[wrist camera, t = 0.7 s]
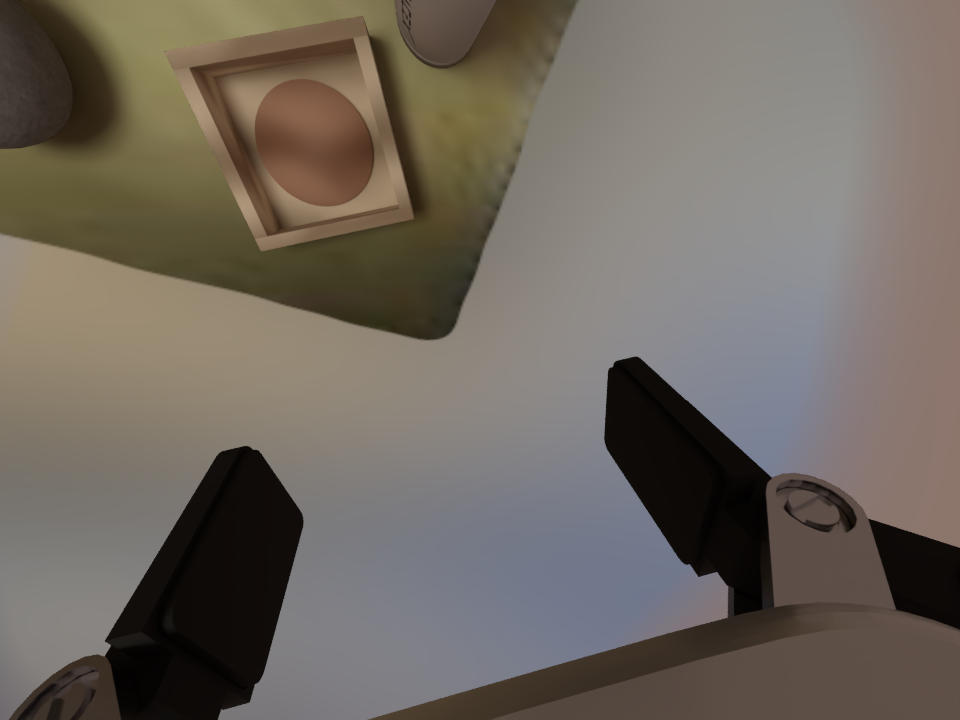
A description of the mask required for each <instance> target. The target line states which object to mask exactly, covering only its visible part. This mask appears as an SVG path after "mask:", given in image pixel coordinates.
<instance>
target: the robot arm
mask: <svg viewBox="0 0 960 720" xmlns="http://www.w3.org/2000/svg"><path fill="white" fill-rule="evenodd" d="M604 440H605V444H606V447H607V450H608V451H609V453H610V455H611V456H612V458H613V459H614V460H615V462H616V463H617V465H618V467H619V468H620V470H621V471H622V473H623V474H624V476H625V477H626V479H627V480H628V482H629V483H630V485H631V486H632V488H633V489H634V491H635V492H636V494H637V495H638V497H639V499H640V500H641V502H642V503H643V505H644V506H645V508H646V509H647V510H648V512H649V514H650V515H651V517H652V518H653V520H654V521H655V523H656V524H657V526H658V527H659V529H660V530H661V532H662V533H663V535H664V536H665V538H666V539H667V541H668V543H669V544H670V546H671V547H672V549H673V550H674V552H675V553H676V555H677V556H678V558H679V559H680V560H681V561H682V562H683V563H684V564H687V565H688V564H690V565H691V566H692V568H693V569H694V571H695V572H696V574H697V575H698V577H700V576H703V575H707V574H711V573H714V572H718V574H719V575H720V577H721V578H722V579H723V581H724V582H725V583H726V585H728V618H725V619H722V620H718V621H714V622H710V623H706V624H702V625H699V626H695V627H691V628H687V629H683V630H679V631H676V632H672V633H668V634H665V635H661V636H657V637H654V638H651V639H647V640H643V641H640V642H637V643H633V644H629V645H626V646H622V647H619V648H616V649H612V650H608V651H605V652H601V653H598V654H594V655H590V656H587V657H583V658H580V659H577V660H573V661H569V662H566V663H562V664H559V665H555V666H552V667H549V668H545V669H541V670H538V671H534V672H531V673H528V674H524V675H521V676H517V677H514V678H510V679H507V680H503V681H500V682H496V683H493V684H489V685H486V686H482V687H479V688H476V689H472V690H469V691H465V692H462V693H458V694H455V695H451V696H448V697H444V698H441V699H438V700H434V701H431V702H427V703H424V704H420V705H417V706H413V707H410V708H407V709H403V710H400V711H396V712H393V713H390V714H386V715H383V716H379V717H376V718H373V719H369V720H960V548H958V547H955V546H952V545H949V544H946V543H943V542H940V541H936V540H933V539H930V538H927V537H924V536H921V535H918V534H915V533H912V532H908V531H905V530H902V529H899V528H896V527H893V526H890V525H887V524H883V523H880V522H877V521H874V520H871V519H868V518H867V516H866V514H865V512H864V510H863V508H862V507H861V506H860V505H859V504H858V503H857V502H856V501H855V500H854V499H853V498H852V497H851V496H849V495H848V494H847V493H845V492H844V491H842V490H841V489H840V488H838V487H836V486H834V485H832V484H830V483H828V482H826V481H824V480H821V479H818V478H815V477H812V476H809V475H803V474H796V473H789V474H781V475H778V476H775V477H773V478H772V477H770V476H769V475H768V474H767V473H766V472H765V471H764V470H763V469H762V468H761V467H759V466H758V465H757V464H756V463H755V462H754V461H753V460H752V459H750V458H749V456H747V455H746V454H745V453H744V452H743V451H742V450H741V449H740V448H739V447H738V446H736V445H735V444H734V443H733V442H732V441H731V440H730V439H729V438H728V437H727V436H725V435H724V434H723V433H722V432H721V431H720V430H719V429H718V428H717V427H716V426H715V425H713V424H712V423H711V422H710V421H709V420H708V419H707V418H706V417H705V416H704V415H702V414H701V413H700V412H699V411H698V410H697V409H696V408H695V407H693V406H692V404H690V403H689V402H688V401H687V400H685V399H684V398H683V397H682V396H681V395H680V394H678V393H677V392H676V391H675V390H674V389H673V388H672V387H671V386H670V385H669V384H668V383H667V382H666V381H664V380H663V379H662V378H661V377H660V376H659V375H658V374H657V373H656V372H655V371H654V370H652V369H651V368H650V367H649V366H648V365H647V364H646V363H645V362H644V361H643V360H641V359H640V358H639V357H631V358H627V359H623V360H618V361H616V362H615V363H614V365H613V367H612V368H609V370H608V382H607V401H606V417H605V437H604ZM302 528H303V516H302V513H301V511H300V510H299V508H298V507H297V505H296V504H295V503H294V501H293V499H292V498H291V497H290V495H289V494H288V492H287V491H286V489H285V488H284V486H283V485H282V484H281V482H280V481H279V479H278V478H277V476H276V475H275V473H274V472H273V470H272V469H271V468H270V466H269V465H268V463H267V462H266V460H265V459H264V457H263V456H262V454H261V453H260V452H259V451H258V450H253V449H252V448H250V447H249V446H243V447H239V448H234V449H231V450H226V451H222V452H220V453H219V454H218V455H217V456H216V458H215V460H214V461H213V463H212V465H211V466H210V468H209V470H208V472H207V473H206V475H205V476H204V478H203V480H202V481H201V483H200V485H199V486H198V488H197V490H196V491H195V493H194V495H193V496H192V498H191V499H190V501H189V503H188V504H187V506H186V508H185V509H184V511H183V513H182V514H181V516H180V518H179V519H178V521H177V523H176V524H175V526H174V528H173V530H172V531H171V533H170V534H169V536H168V538H167V539H166V541H165V542H164V544H163V546H162V547H161V549H160V551H159V553H158V554H157V556H156V557H155V559H154V561H153V562H152V564H151V565H150V567H149V569H148V570H147V573H146V574H145V575H144V577H143V579H142V580H141V582H140V584H139V585H138V587H137V589H136V590H135V592H134V594H133V595H132V597H131V599H130V600H129V602H128V603H127V605H126V607H125V608H124V610H123V612H122V613H121V615H120V617H119V619H118V620H117V622H116V623H115V625H114V627H113V628H112V630H111V632H110V633H109V635H108V637H107V638H106V640H105V642H107V643H109V644H110V645H111V647H110V648H109V650H108V652H107V653H106V655H105V657H104V656H101V655H92V656H86V657H83V658H81V659H79V660H77V661H75V662H72V663H70V664H68V665H67V666H65V667H64V668H62V669H61V670H59V671H58V672H56V673H55V674H53V675H52V676H51V677H49V679H47V680H46V681H45V682H44V683H42V684H41V685H40V686H39V687H38V688H37V689H36V690H34V691H33V692H32V693H31V695H29V697H28V698H27V699H26V700H25V701H24V702H23V703H22V704H21V705H20V706H19V707H18V708H17V710H16V711H15V712H14V713H13V715H12V716H11V718H10V719H9V720H218V717H219V714H220V711H221V709H223V710H224V709H228V708H232V707H235V706H238V705H242V704H246V703H249V702H250V700H251V696H252V692H253V689H254V685H255V684H256V683H258V682H259V681H260V679H261V677H262V675H263V673H264V670H265V666H266V663H267V659H268V655H269V651H270V647H271V644H272V640H273V636H274V633H275V629H276V625H277V622H278V618H279V614H280V610H281V607H282V603H283V599H284V596H285V592H286V588H287V584H288V581H289V576H290V573H291V569H292V566H293V562H294V558H295V554H296V551H297V547H298V543H299V539H300V536H301V532H302Z"/></svg>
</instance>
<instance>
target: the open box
mask: <svg viewBox="0 0 960 720" xmlns="http://www.w3.org/2000/svg"><path fill="white" fill-rule="evenodd" d="M164 52H165V54H166V56H167V58H168V60H169V62H170V64H171V66H172V68H173V71H174V73H175V75H176V77H177V79H178V81H179V83H180V85H181V87H182V89H183V91H184V93H185V95H186V97H187V99H188V102H189V104H190V106H191V108H192V110H193V112H194V114H195V116H196V118H197V120H198V122H199V124H200V126H201V128H202V130H203V132H204V135H205V137H206V139H207V141H208V143H209V145H210V147H211V149H212V151H213V153H214V155H215V157H216V159H217V161H218V163H219V166H220V168H221V170H222V172H223V174H224V176H225V178H226V180H227V182H228V184H229V186H230V188H231V190H232V192H233V194H234V196H235V199H236V201H237V203H238V205H239V207H240V209H241V211H242V213H243V215H244V217H245V219H246V221H247V223H248V225H249V227H250V230H251V232H252V234H253V236H254V238H255V240H256V242H257V244H258V246H259V248H260V250H261V251H265V250H270V249H275V248H279V247H284V246H289V245H294V244H298V243H303V242H308V241H312V240H317V239H322V238H327V237H331V236H336V235H341V234H345V233H350V232H355V231H360V230H364V229H369V228H374V227H378V226H383V225H388V224H393V223H397V222H402V221H407V220H411V219H414V211H413V207H412V203H411V199H410V195H409V191H408V187H407V183H406V179H405V175H404V171H403V167H402V163H401V159H400V155H399V151H398V147H397V143H396V139H395V135H394V131H393V127H392V123H391V119H390V115H389V111H388V107H387V103H386V99H385V95H384V91H383V87H382V83H381V79H380V76H379V72H378V68H377V64H376V60H375V56H374V52H373V48H372V44H371V40H370V36H369V33H368V30H367V27H366V24H365V21H364V18H363V16H359V17H353V18H348V19H342V20H336V21H331V22H325V23H319V24H314V25H308V26H302V27H297V28H291V29H285V30H280V31H274V32H268V33H263V34H257V35H251V36H246V37H240V38H235V39H229V40H223V41H218V42H212V43H206V44H201V45H195V46H189V47H184V48H178V49H172V50H167V51H164Z"/></svg>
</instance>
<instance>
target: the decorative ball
mask: <svg viewBox="0 0 960 720" xmlns="http://www.w3.org/2000/svg"><path fill="white" fill-rule="evenodd" d="M72 105H73V89H72V84H71V80H70V76H69V73H68V71H67V68H66V66H65V64H64V62H63V60H62V58H61V56H60V54H59V52H58V51H57V49H56V47H55V45H54V44H53V43H52V41H51V39H50V38H49V37H48V35H47V34H46V33H45V31H44V30H43V29H42V28H41V26H40V25H39V24H38V23H37V22H36V21H35V20H34V18H33V17H32V16H31V15H30V14H29V13H28V12H27V11H26V10H25V9H24V8H23V7H22V6H21V5H20V4H19V3H18V2H17V1H16V0H0V149H13V148H23V147H27V146H32V145H36V144H39V143H42V142H44V141H45V140H48V139H49V138H51V137H53V136H54V135H56V134H57V133H58V132H59V131H60V130H61V129H62V128H63V127H64V126H65V124H66V123H67V121H68V119H69V116H70V113H71V110H72Z"/></svg>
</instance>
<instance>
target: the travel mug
mask: <svg viewBox="0 0 960 720" xmlns="http://www.w3.org/2000/svg"><path fill="white" fill-rule="evenodd" d="M496 1H497V0H395V5H396V15H397V21H398V26H399V29H400V33H401V35H402V38H403V40H404V42H405V44H406V45H407V47H408V48H409V50H410V51H411V52H412V53H413V54H414V55H415V56H416V58H417V59H419V60H420V61H422V62H423V63H425V64H427V65H429V66H432V67H437V68H445V67H449V66H452V65H455V64H456V63H458V62H459V61H461V60H462V59H463V58H464V57H465V56H466V54H467V53H468V51H469V50H470V48H471V46H472V45H473V43H474V41H475V39H476V37H477V35H478V34H479V32H480V30H481V28H482V26H483V24H484V23H485V21H486V19H487V17H488V15H489V13H490V12H491V10H492V8H493V6H494V4H495V2H496Z"/></svg>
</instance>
